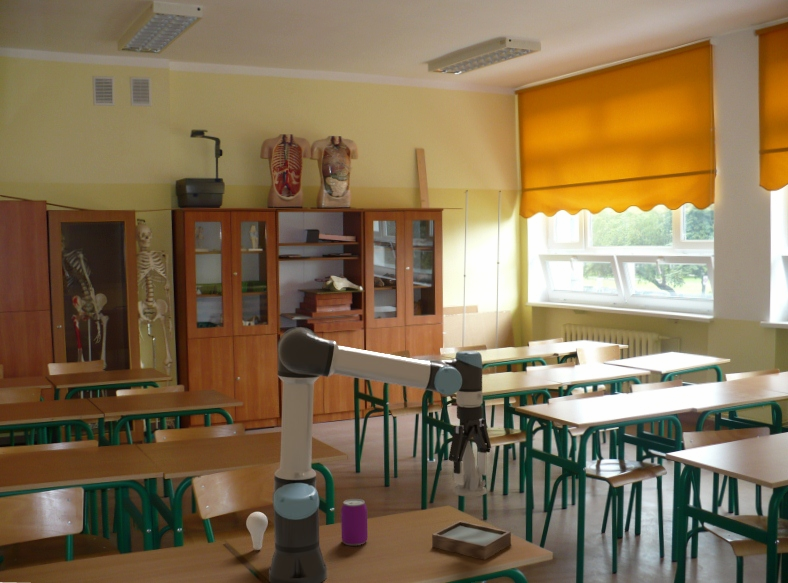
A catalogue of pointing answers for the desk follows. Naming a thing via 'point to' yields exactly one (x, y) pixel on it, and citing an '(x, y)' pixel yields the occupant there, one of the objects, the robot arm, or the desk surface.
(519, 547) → the desk surface
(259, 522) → the lightbulb
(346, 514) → the beverage can
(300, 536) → the robot arm
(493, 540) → the wooden tray
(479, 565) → the desk surface
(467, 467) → the crystal
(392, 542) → the desk surface
